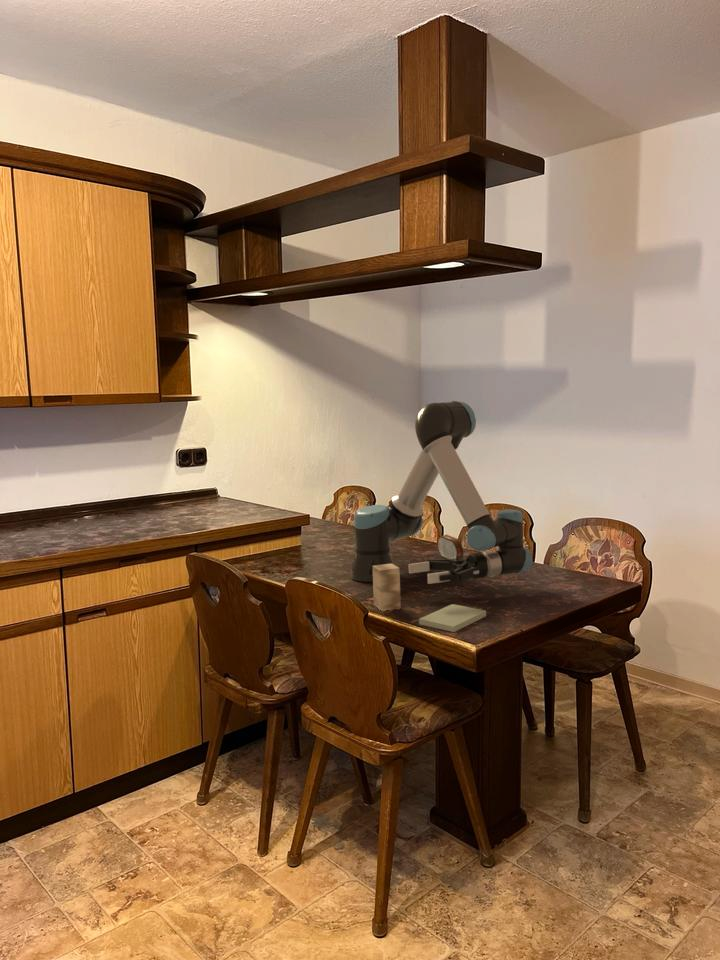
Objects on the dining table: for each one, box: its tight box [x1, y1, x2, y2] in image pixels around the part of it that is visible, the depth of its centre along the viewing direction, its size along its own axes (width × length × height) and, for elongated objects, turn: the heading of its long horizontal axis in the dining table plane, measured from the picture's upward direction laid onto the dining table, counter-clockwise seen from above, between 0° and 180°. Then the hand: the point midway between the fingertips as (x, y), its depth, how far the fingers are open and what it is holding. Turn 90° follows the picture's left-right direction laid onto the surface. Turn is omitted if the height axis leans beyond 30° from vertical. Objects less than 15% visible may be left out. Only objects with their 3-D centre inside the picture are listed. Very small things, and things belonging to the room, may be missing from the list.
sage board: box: [418, 603, 487, 633], centre depth 197 cm, size 16×11×2 cm
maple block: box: [372, 563, 402, 612], centre depth 210 cm, size 6×6×12 cm
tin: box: [437, 534, 464, 560], centre depth 265 cm, size 15×3×8 cm, turn 22°
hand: (418, 573), depth 213 cm, fingers open, 13 cm apart
